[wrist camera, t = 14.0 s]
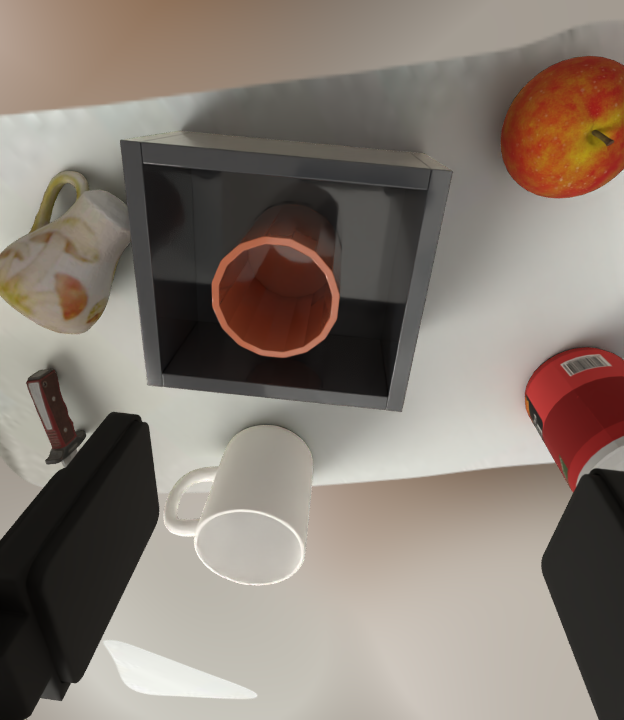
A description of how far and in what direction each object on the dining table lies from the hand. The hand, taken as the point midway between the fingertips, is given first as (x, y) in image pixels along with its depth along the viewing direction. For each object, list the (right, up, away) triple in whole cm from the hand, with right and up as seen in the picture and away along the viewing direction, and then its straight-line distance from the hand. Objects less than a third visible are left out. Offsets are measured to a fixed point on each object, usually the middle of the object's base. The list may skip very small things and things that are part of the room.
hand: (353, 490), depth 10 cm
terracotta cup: (-2, +10, +22) cm, 25 cm away
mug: (-17, +12, +24) cm, 32 cm away
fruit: (+14, +17, +19) cm, 29 cm away
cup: (-7, -6, +33) cm, 34 cm away
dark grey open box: (-2, +11, +23) cm, 26 cm away
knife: (-22, -5, +34) cm, 41 cm away
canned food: (+20, +1, +27) cm, 34 cm away
